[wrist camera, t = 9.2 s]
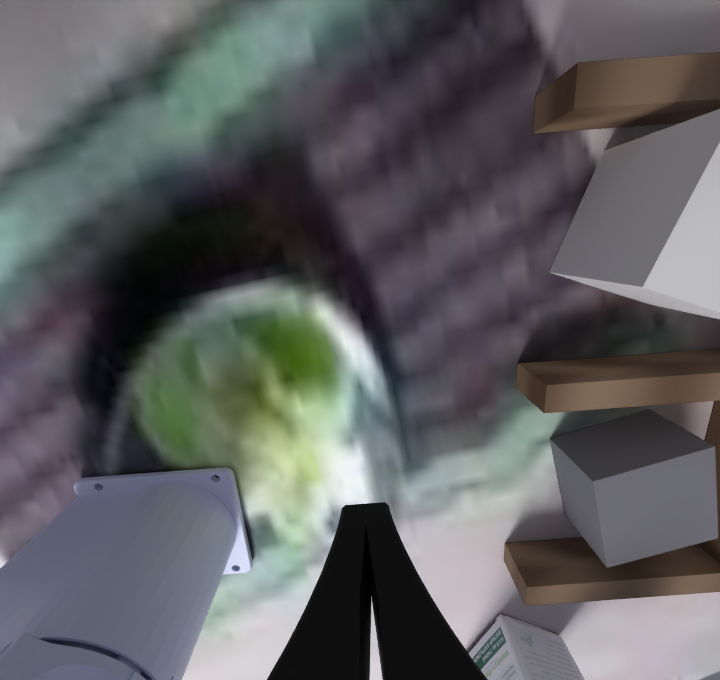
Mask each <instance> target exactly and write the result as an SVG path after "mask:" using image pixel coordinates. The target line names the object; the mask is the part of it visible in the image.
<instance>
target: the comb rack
mask: <svg viewBox="0 0 720 680" xmlns="http://www.w3.org/2000/svg"><path fill="white" fill-rule="evenodd" d="M718 109H720V52H715V53H701V54H687V55H673V56H660V57H646V58H632V59H618V60H604V61H590V62H578V63H577V64H576V65H574V66H573V67H572V68H571V69H569V70H568V71H567V72H566V73H564V74H563V75H562V76H560V77H559V78H558V79H557V80H555V81H554V82H553V83H552V84H550V85H549V86H548V87H547V88H545V89H544V90H543V91H542V92H540V93H539V94H538V95H537V96H536V98H535V113H534V127H533V133H546V132H560V131H574V130H587V129H601V128H615V127H629V126H643V125H657V124H670V123H682V122H685V121H688V120H690V119H693V118H696V117H699V116H702V115H704V114H707V113H710V112H713V111H715V110H718ZM516 388H517V389H518V390H519V391H520V392H521V393H522V394H523V395H524V396H526V397H527V398H528V399H529V400H530V401H531V402H532V403H533V404H535V405H536V406H537V407H538V408H539V409H540V410H541V411H542V412H543V413H553V412H567V411H581V410H594V409H608V408H622V407H636V406H649V405H663V404H677V403H690V402H704V401H715V403H714V407H713V411H712V415H711V419H710V423H709V426H708V430H707V434H706V438H705V441H706V442H708V443H709V444H711V445H713V446H715V460H716V488H717V515H718V538H717V539H713V540H710V541H706V542H702V543H698V544H695V545H691V546H687V547H683V548H680V549H676V550H672V551H668V552H665V553H661V554H657V555H653V556H650V557H646V558H642V559H638V560H635V561H631V562H627V563H623V564H620V565H616V566H612V567H609V568H607V567H606V566H605V565H604V563H603V562H602V561H601V560H600V558H599V557H598V556H597V554H596V553H595V552H594V551H593V549H592V548H591V547H590V545H589V544H588V543H587V542H586V540H585V539H584V538H571V539H558V540H544V541H530V542H517V543H505V551H504V562H505V564H506V566H507V568H508V570H509V572H510V574H511V577H512V579H513V581H514V583H515V585H516V587H517V589H518V591H519V593H520V596H521V598H522V600H523V602H524V604H525V606H531V605H545V604H559V603H572V602H586V601H600V600H613V599H627V598H641V597H654V596H668V595H681V594H695V593H709V592H720V349H708V350H694V351H680V352H666V353H653V354H639V355H625V356H611V357H598V358H584V359H570V360H556V361H543V362H529V363H517V376H516Z"/></svg>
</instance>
